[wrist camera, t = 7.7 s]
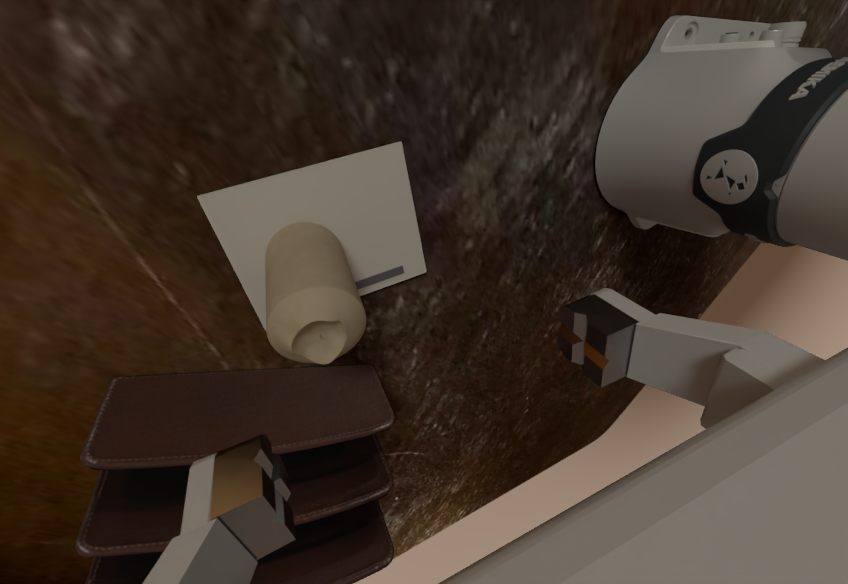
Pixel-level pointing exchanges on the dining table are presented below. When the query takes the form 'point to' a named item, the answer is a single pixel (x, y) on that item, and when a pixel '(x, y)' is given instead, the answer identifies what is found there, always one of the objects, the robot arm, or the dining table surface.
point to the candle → (311, 295)
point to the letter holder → (227, 426)
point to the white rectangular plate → (325, 218)
